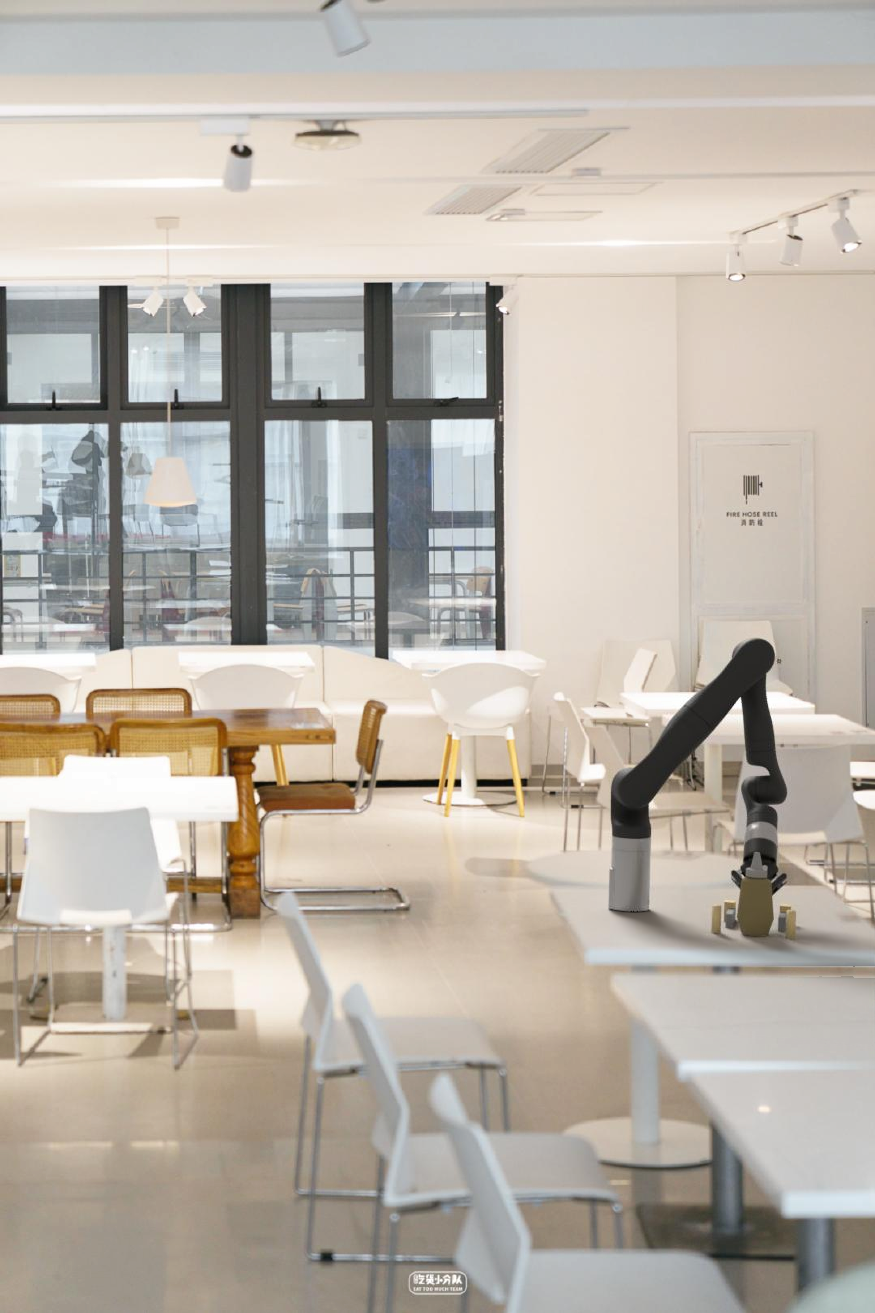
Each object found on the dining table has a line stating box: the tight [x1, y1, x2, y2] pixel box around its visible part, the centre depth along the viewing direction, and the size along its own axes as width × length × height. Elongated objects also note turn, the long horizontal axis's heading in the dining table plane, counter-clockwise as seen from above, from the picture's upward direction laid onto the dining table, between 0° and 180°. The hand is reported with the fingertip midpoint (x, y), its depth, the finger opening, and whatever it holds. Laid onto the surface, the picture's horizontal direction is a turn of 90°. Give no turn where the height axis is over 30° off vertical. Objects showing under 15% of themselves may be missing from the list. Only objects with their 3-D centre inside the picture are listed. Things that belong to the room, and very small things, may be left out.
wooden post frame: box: [710, 899, 797, 940], centre depth 342 cm, size 18×18×6 cm
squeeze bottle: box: [736, 852, 775, 937], centre depth 335 cm, size 8×8×18 cm
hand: (757, 909), depth 339 cm, fingers closed
